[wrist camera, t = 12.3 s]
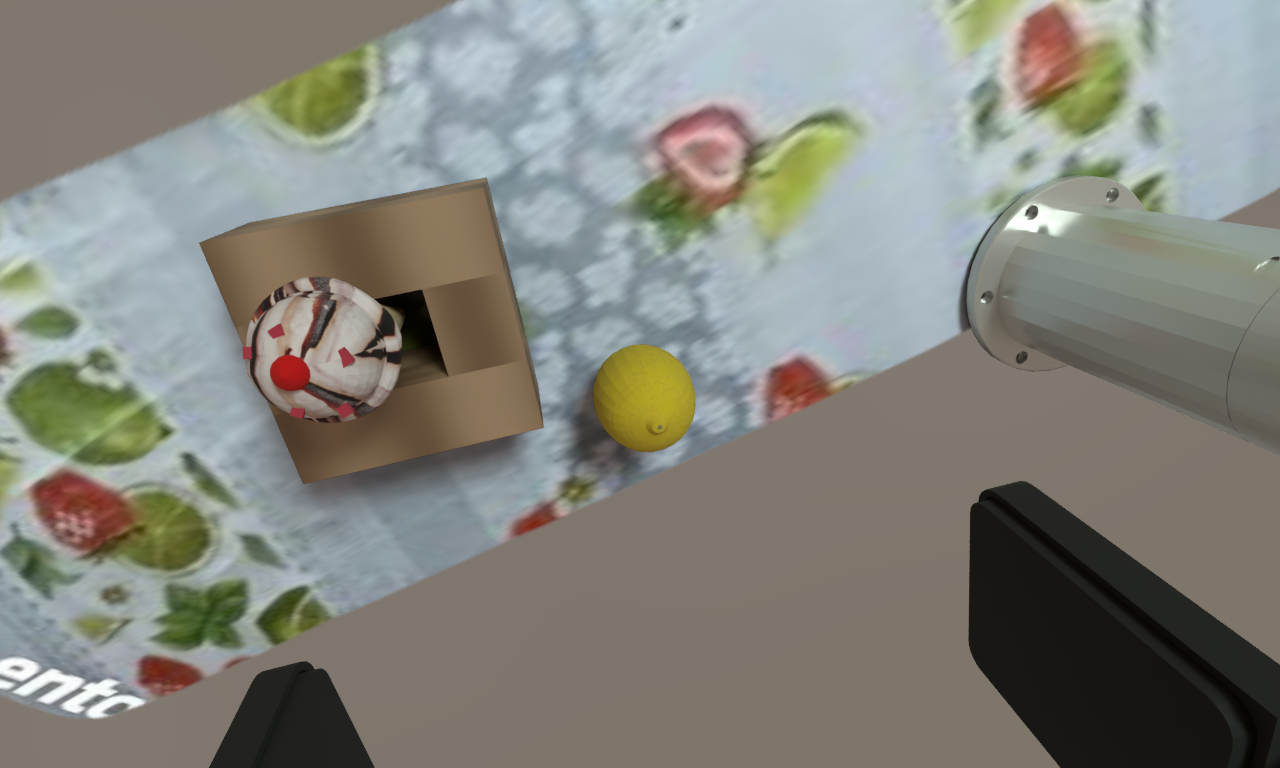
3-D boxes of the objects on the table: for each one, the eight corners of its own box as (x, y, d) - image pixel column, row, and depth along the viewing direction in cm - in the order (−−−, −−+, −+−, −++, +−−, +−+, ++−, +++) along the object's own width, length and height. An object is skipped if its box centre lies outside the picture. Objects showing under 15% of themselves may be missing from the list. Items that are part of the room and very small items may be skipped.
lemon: (626, 429, 41) (652, 495, 34) (566, 370, 39) (581, 427, 32) (692, 372, 41) (734, 426, 34) (636, 308, 39) (667, 352, 31)
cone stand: (486, 177, 35) (483, 188, 29) (538, 384, 39) (543, 427, 34) (249, 222, 33) (199, 243, 28) (332, 431, 38) (303, 484, 32)
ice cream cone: (330, 292, 36) (150, 350, 21) (417, 235, 35) (293, 254, 21) (396, 378, 37) (270, 487, 23) (480, 324, 37) (405, 400, 22)
